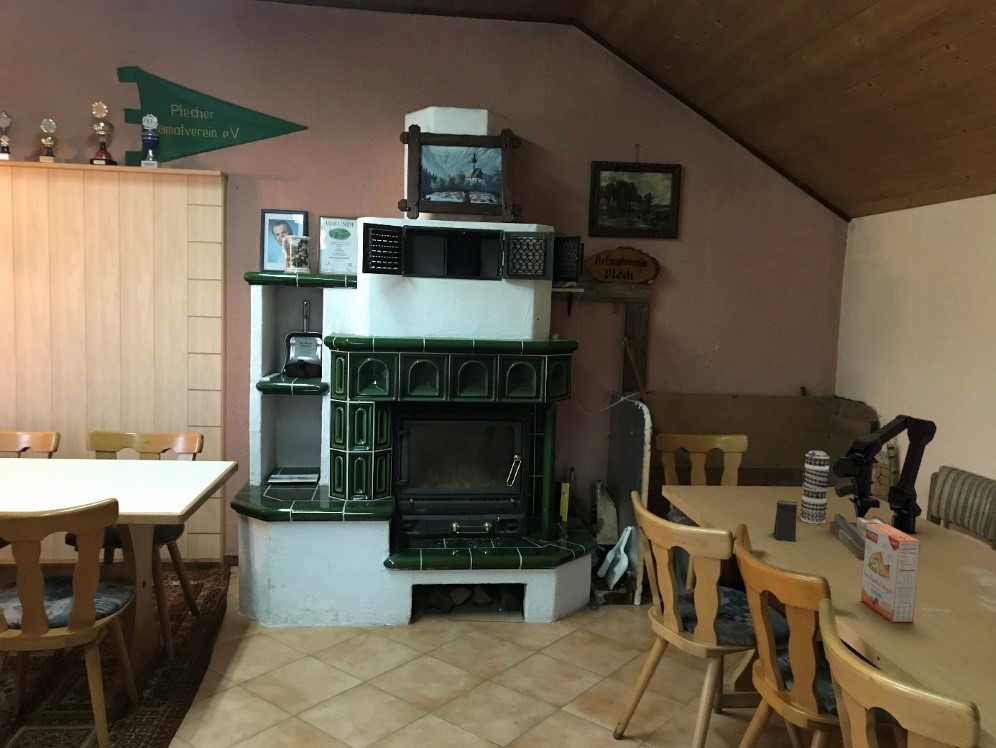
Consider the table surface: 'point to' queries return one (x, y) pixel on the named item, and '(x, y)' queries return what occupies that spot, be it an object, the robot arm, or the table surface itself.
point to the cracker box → (890, 572)
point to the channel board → (850, 534)
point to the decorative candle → (815, 487)
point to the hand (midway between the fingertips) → (858, 521)
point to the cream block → (865, 524)
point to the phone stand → (785, 521)
